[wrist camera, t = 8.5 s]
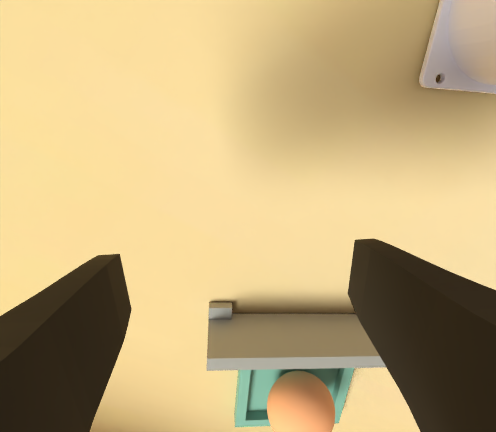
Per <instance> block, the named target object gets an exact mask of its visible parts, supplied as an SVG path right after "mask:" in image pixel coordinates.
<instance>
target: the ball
mask: <svg viewBox="0 0 496 432" xmlns="http://www.w3.org/2000/svg"><path fill="white" fill-rule="evenodd" d="M267 413H268V419H269V422H270V425H271V427H272V429H273V431H274V432H332V429H333V426H334V422H335V406H334V401H333V398H332V395H331V393H330V391H329V390H328V388H327V387H326V385H325V384H324V383H323V382H322V381H321V380H320V379H319V378H318V377H316V376H315V375H313V374H311V373H308V372H305V371H291V372H288V373H286V374H284V375H282V376H281V377H280V378H278V379H277V380H276V382H275V383H274V384H273V386H272V388H271V390H270V392H269V395H268V400H267Z"/></svg>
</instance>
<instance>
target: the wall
mask: <svg viewBox="0 0 496 432" xmlns="http://www.w3.org/2000/svg"><path fill="white" fill-rule="evenodd" d="M374 367H386V366H385V364H384V362H383V361H382V359H381V357H380V356H379V354H378V352H377V351H376V349H375V347H374V346H373V344H372V342H371V340H370V339H369V337H368V335H367V334H366V332H365V330H364V328H363V327H362V325H361V323H360V321H359V319H358V317H357V314H232V302H209V326H208V350H207V371H213V370H267V369H320V368H374Z"/></svg>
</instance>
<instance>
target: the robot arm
mask: <svg viewBox="0 0 496 432" xmlns="http://www.w3.org/2000/svg"><path fill="white" fill-rule="evenodd" d="M438 74H439V75H440V81H439V82H438V83H437V82H436V77H437V75H438ZM419 83H420V85H421V86H422V87H425V88H435V89H446V90H458V91H469V92H481V93H492V94H496V0H440V2H439V5H438V9H437V13H436V17H435V20H434V24H433V28H432V32H431V35H430V39H429V43H428V47H427V50H426V54H425V58H424V62H423V65H422V69H421V73H420V77H419ZM348 295H349V297H350V300H351V302H352V305H353V308H354V310H355V312H356V314H357V317H358V319H359V321H360V323H361V325H362V327H363V328H364V330H365V332H366V334H367V335H368V337H369V339H370V340H371V342H372V344H373V346H374V347H375V349H376V351H377V352H378V354H379V356H380V357H381V359H382V361H383V362H384V364H385V366H386V367H387V369H388V371H389V372H390V374H391V376H392V377H393V379H394V381H395V382H396V384H397V386H398V387H399V389H400V391H401V393H402V395H403V397H404V399H405V400H406V402H407V404H408V406H409V408H410V410H411V412H412V414H413V417H414V419H415V421H416V423H417V425H418V427H419V429H420V431H421V432H496V290H494V289H491V288H488V287H486V286H483V285H481V284H478V283H476V282H473V281H471V280H468V279H466V278H464V277H461V276H459V275H456V274H454V273H452V272H449V271H447V270H445V269H443V268H440V267H438V266H436V265H434V264H431V263H429V262H427V261H425V260H423V259H420V258H418V257H416V256H414V255H412V254H410V253H407V252H405V251H403V250H401V249H399V248H396V247H394V246H392V245H390V244H387V243H385V242H382V241H379V240H376V239H361V240H355V243H354V251H353V259H352V266H351V274H350V281H349V289H348ZM130 313H131V305H130V300H129V296H128V291H127V286H126V282H125V277H124V272H123V268H122V263H121V258H120V254H113V255H98V256H96V257H94V258H93V259H91V260H89V261H87V262H86V263H84V264H83V265H81V266H79V267H78V268H76V269H75V270H73V271H72V272H70V273H69V274H67V275H66V276H64V277H62V278H61V279H59V280H58V281H56V282H55V283H53V284H52V285H50V286H49V287H47V288H46V289H44V290H42V291H41V292H39V293H38V294H36V295H35V296H33V297H31V298H30V299H28V300H26V301H25V302H23V303H21V304H20V305H18V306H16V307H15V308H13V309H11V310H10V311H8V312H6V313H5V314H3V315H2V316H0V432H89V431H90V428H91V425H92V423H93V420H94V417H95V414H96V412H97V409H98V407H99V404H100V401H101V399H102V396H103V394H104V391H105V389H106V386H107V383H108V381H109V378H110V376H111V373H112V371H113V368H114V366H115V363H116V360H117V358H118V355H119V352H120V350H121V347H122V344H123V342H124V338H125V335H126V331H127V327H128V322H129V318H130Z"/></svg>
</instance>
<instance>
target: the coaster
mask: <svg viewBox="0 0 496 432" xmlns="http://www.w3.org/2000/svg"><path fill="white" fill-rule="evenodd" d="M291 371H305V372H308V373H311V374H313V375H315V376H316V377H318V378H319V379H320V380H321V381H322V382H323V383H324V384H325V385H326V387H327V388H328V390H329V391H330V393H331V395H332V398H333V401H334V406H335V422H334V423H339V420H340V417H341V413H342V410H343V406H344V403H345V399H346V396H347V392H348V389H349V385H350V382H351V378H352V375H353V371H354V368H320V369H267V370H238V381H237V392H236V403H235V427H254V426H271V425H270V422H269V419H268V413H267V400H268V395H269V392H270V390H271V388H272V386H273V384H274V383H275V382H276V380H277V379H278V378H280V377H281V376H282V375H284V374H286V373H288V372H291Z"/></svg>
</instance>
